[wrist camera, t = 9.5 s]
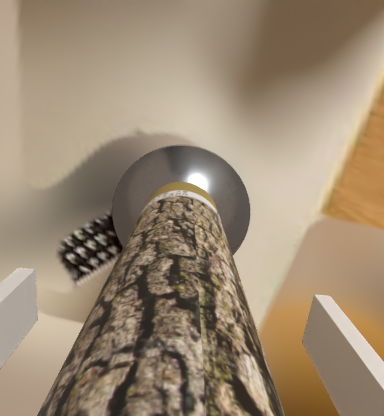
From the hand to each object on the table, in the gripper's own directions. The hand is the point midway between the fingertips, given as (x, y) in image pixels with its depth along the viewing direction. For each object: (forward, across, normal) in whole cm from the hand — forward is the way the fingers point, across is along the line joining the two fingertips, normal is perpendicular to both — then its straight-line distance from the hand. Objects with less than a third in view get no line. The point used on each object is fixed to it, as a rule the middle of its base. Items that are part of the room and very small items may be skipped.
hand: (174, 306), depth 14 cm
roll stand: (+15, 0, 0) cm, 15 cm away
